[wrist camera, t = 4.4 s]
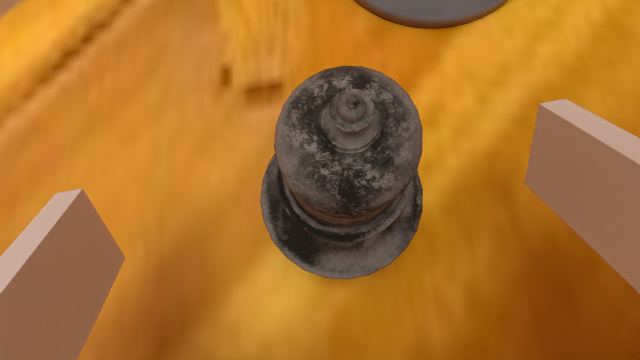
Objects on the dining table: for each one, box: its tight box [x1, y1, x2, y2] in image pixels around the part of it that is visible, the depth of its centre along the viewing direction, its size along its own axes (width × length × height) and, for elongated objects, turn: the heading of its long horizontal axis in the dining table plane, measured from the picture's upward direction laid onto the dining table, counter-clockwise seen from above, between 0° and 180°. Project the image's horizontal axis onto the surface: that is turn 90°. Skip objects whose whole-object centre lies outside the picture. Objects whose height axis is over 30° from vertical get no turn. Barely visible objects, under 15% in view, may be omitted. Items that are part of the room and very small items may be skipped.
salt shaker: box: [260, 66, 423, 279], centre depth 11 cm, size 6×6×12 cm
